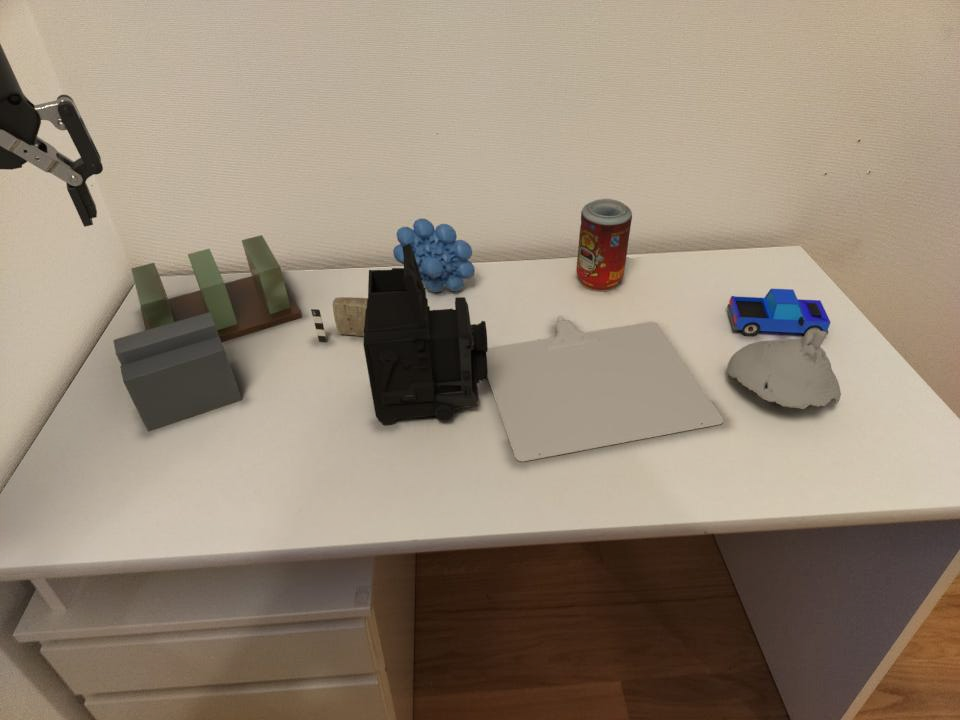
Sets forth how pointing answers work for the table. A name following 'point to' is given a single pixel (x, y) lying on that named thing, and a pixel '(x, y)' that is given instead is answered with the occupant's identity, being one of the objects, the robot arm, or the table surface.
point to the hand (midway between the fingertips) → (35, 234)
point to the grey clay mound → (788, 371)
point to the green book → (213, 288)
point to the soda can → (603, 244)
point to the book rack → (250, 297)
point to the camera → (419, 348)
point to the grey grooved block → (176, 371)
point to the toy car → (777, 313)
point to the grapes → (436, 254)
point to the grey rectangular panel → (594, 390)
